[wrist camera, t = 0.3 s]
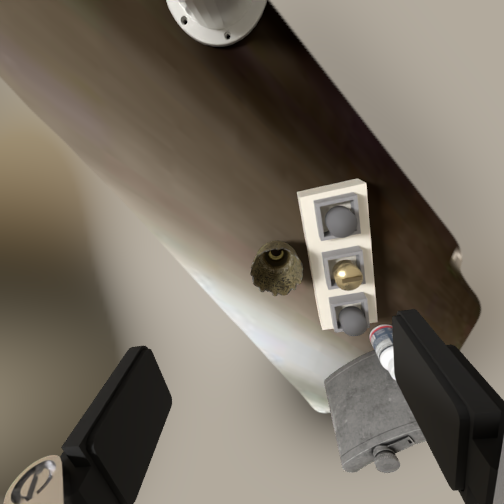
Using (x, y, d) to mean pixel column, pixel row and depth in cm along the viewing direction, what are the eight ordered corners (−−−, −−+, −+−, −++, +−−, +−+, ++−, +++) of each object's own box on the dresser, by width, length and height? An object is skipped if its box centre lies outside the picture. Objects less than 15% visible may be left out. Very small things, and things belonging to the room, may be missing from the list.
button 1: (337, 307, 43) (341, 318, 41) (361, 304, 43) (366, 314, 40) (340, 326, 44) (343, 337, 42) (363, 323, 44) (368, 334, 42)
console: (296, 192, 42) (300, 200, 37) (357, 178, 41) (371, 185, 36) (318, 315, 51) (324, 337, 45) (369, 307, 50) (382, 329, 44)
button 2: (322, 208, 37) (326, 213, 35) (350, 202, 37) (356, 207, 34) (326, 233, 39) (330, 240, 36) (353, 228, 38) (358, 234, 36)
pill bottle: (404, 334, 51) (429, 372, 43) (381, 350, 53) (401, 390, 45) (385, 318, 50) (407, 354, 42) (362, 335, 52) (379, 373, 44)
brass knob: (330, 262, 40) (334, 271, 38) (356, 257, 40) (362, 266, 37) (333, 283, 42) (338, 293, 39) (358, 279, 41) (364, 289, 38)
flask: (318, 379, 57) (338, 479, 40) (379, 343, 53) (429, 439, 36) (330, 389, 58) (353, 491, 41) (390, 354, 53) (444, 454, 37)
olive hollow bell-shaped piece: (306, 239, 45) (312, 260, 38) (288, 277, 48) (291, 303, 41) (263, 223, 45) (261, 241, 37) (247, 262, 48) (243, 286, 40)
